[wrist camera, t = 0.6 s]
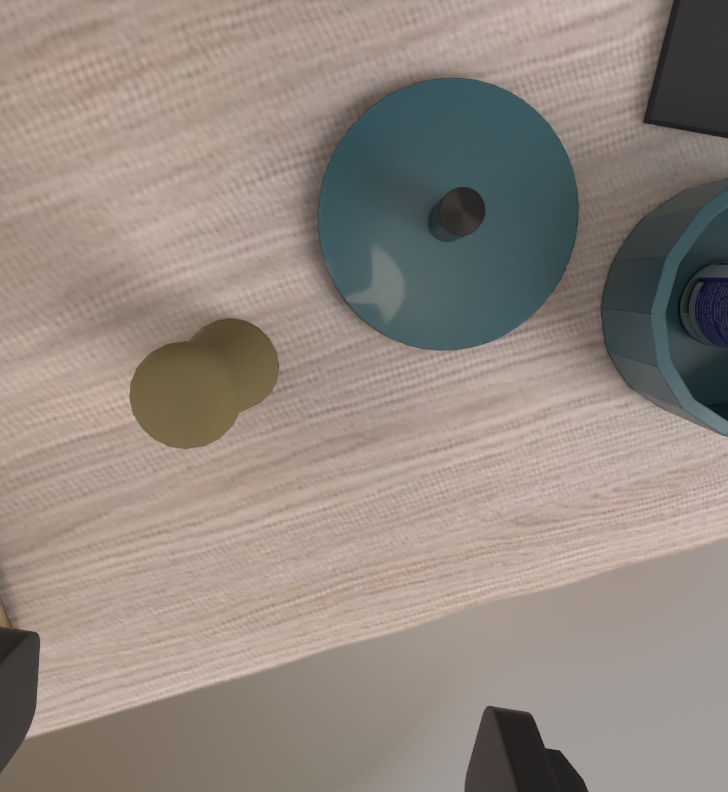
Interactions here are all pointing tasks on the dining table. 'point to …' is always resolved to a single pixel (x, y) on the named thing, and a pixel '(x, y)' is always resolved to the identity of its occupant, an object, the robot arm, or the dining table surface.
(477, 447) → the dining table surface
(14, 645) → the robot arm
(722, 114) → the plate
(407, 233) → the pot lid
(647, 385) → the pot
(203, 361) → the olive game pawn
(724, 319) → the pill bottle
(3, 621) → the food item
